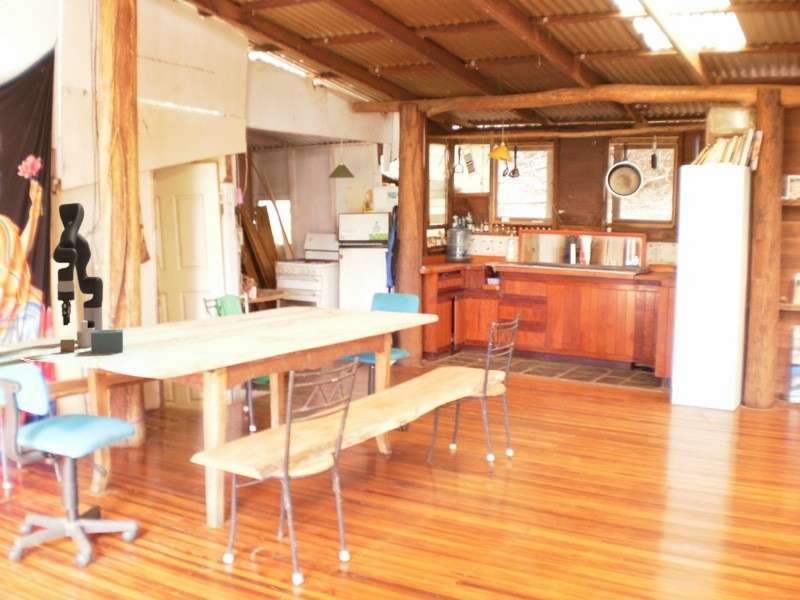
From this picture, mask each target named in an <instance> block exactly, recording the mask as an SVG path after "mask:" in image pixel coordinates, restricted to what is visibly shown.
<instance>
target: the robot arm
mask: <svg viewBox="0 0 800 600" xmlns="http://www.w3.org/2000/svg"><path fill="white" fill-rule="evenodd" d="M58 213H59V217H60V221H61V223H62V226H63V228H64V229H63V230H62V232H61V235H60V238H59V243H58V244H57V246H56V247H54V248H55V249H54V251H53V253H52V259H53V261H54V262H55V263H57V264H68V265H67V266H65V267H62V268H59V269H57V284H56V285H57V286H56V288H57V301H62V304H60V306H61V316H62V325H63V326H68V325H69V324H70V323H71V313H72V312H71V311H72V304H71V302H72V301H75V299H76V298H75V297H76V295H75V293H76V291H75V281H74V280H75V279H74V276H75V273H74V272H75V270H76V276H77V283H78V287H79V290H80V292H81V293H82V294H83V295H92V297H91V298H90V299H88V300H86V301H85V300H84V302H83V304H82V305H83V306H82V307H83V309H82V310H83V311H82V312H83V320H93V321H94V322H95V329H94V330H103V301H104V299H103V298H104V282H103V278H102V277H99V276H88V273H87V267H88V264H89V263H90V260H91V257H92V251H91V248H90V244H89V241H88V240H87V239H86V238H85V237H84V236H83V235H82V234H80V232H79V231H80V228H81V226H82V224H83V221H84V218H85V209H84V206H83V204H81V203H79V202H72V203H64V204H60V205H59V206H58Z"/></svg>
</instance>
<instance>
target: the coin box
mask: <svg viewBox="0 0 800 600" xmlns="http://www.w3.org/2000/svg"><path fill="white" fill-rule="evenodd" d="M123 350H124V330H123V329H102V330H92V332H91V347H90V351H91V354H109V353H110V354H113V353H124V351H123Z"/></svg>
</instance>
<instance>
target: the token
mask: <svg viewBox="0 0 800 600" xmlns="http://www.w3.org/2000/svg"><path fill="white" fill-rule="evenodd" d="M59 341H60V342H59V343H60V353H61V352H67V353H75V352H74V351H76V349H75V339H71V338H70V339H69V338H68V339H60V340H59Z"/></svg>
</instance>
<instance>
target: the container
mask: <svg viewBox="0 0 800 600" xmlns="http://www.w3.org/2000/svg"><path fill="white" fill-rule="evenodd" d="M94 329H95V322H94V321H93V320H84V319H83V320H82V321H80V330H77V331H76V346H77V347H81V348H85V347H87V348H91V332H92V330H94Z"/></svg>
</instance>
